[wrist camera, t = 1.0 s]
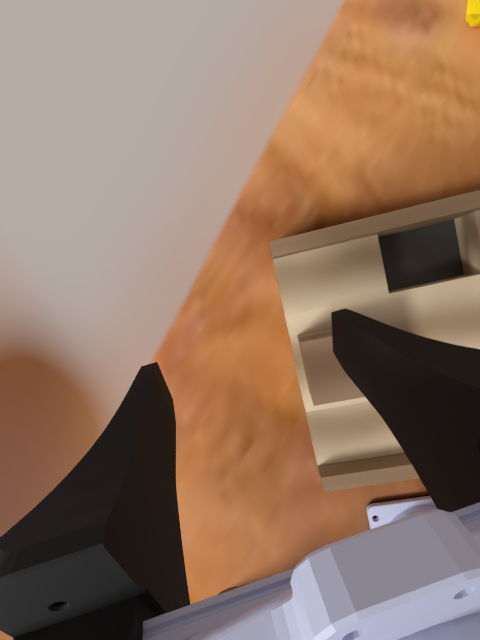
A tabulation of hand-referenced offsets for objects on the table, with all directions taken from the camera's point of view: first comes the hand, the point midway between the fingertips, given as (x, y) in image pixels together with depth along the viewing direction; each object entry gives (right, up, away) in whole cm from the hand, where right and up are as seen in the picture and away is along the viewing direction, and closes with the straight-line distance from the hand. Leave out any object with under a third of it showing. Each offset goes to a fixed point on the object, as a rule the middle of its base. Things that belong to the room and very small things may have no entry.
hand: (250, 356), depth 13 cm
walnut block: (+6, -1, +9) cm, 11 cm away
